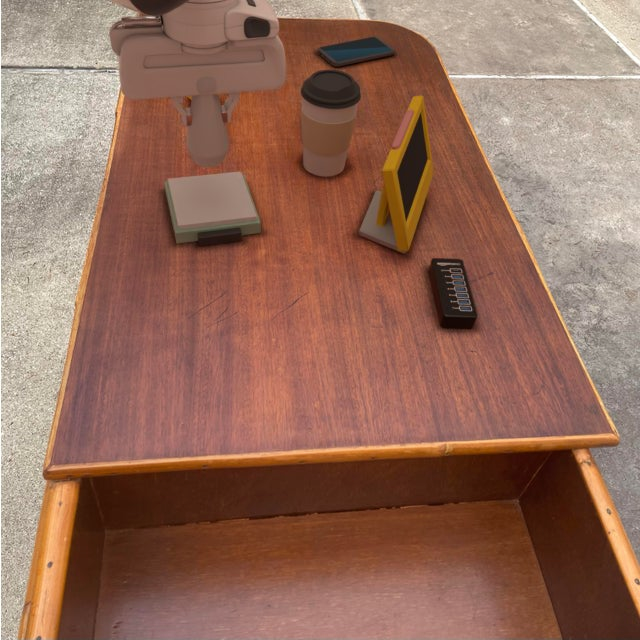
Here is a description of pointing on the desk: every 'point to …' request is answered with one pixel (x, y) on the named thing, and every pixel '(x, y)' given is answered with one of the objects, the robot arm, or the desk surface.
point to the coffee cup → (328, 120)
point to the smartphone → (355, 51)
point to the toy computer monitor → (402, 183)
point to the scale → (211, 208)
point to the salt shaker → (207, 127)
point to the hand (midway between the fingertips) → (206, 122)
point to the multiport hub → (452, 294)
